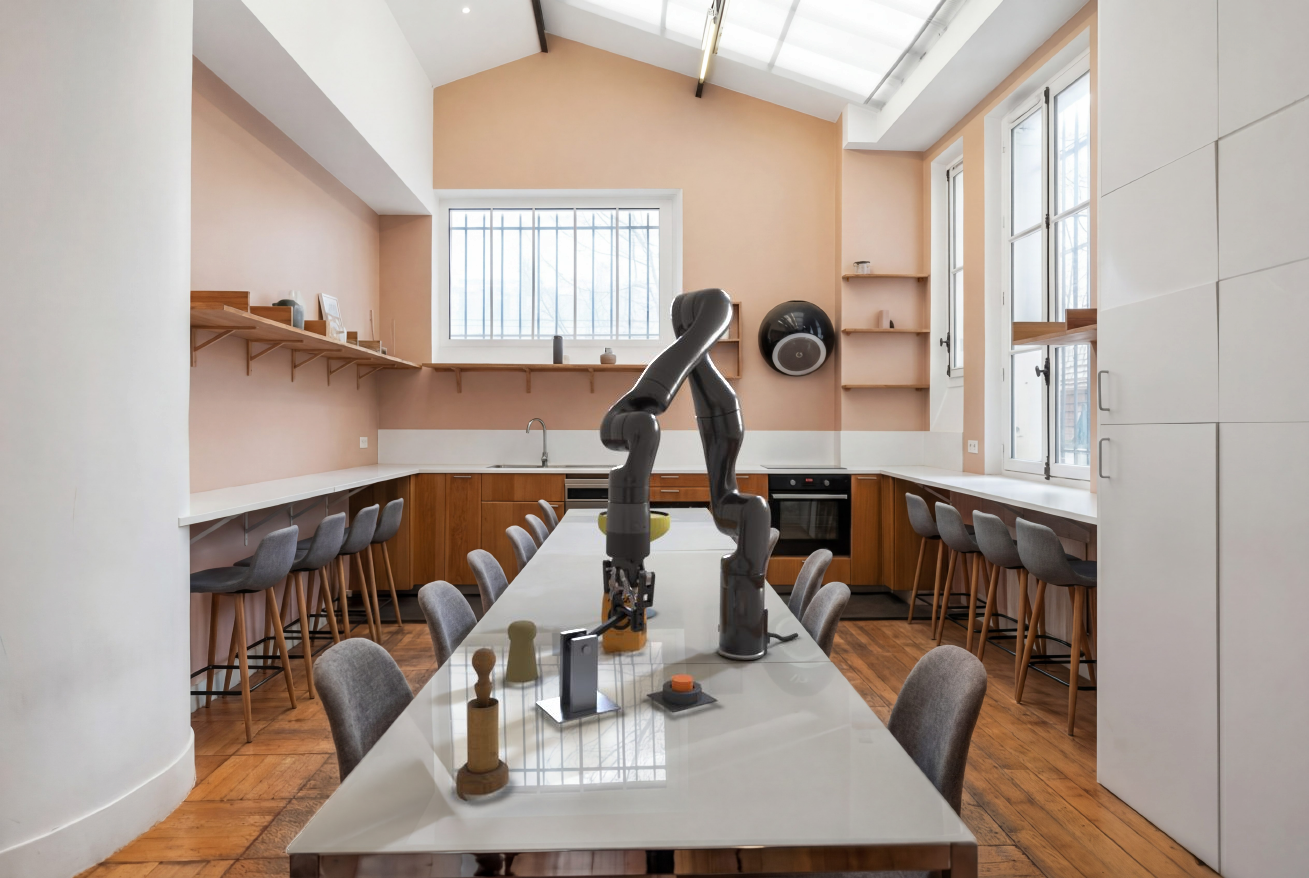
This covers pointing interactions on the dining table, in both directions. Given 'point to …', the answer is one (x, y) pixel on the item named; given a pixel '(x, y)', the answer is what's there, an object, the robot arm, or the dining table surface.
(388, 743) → the dining table surface
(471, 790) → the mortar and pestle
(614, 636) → the coffee package
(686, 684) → the button
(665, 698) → the control block
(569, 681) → the lever stand
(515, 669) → the cork
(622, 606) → the black t-handle
